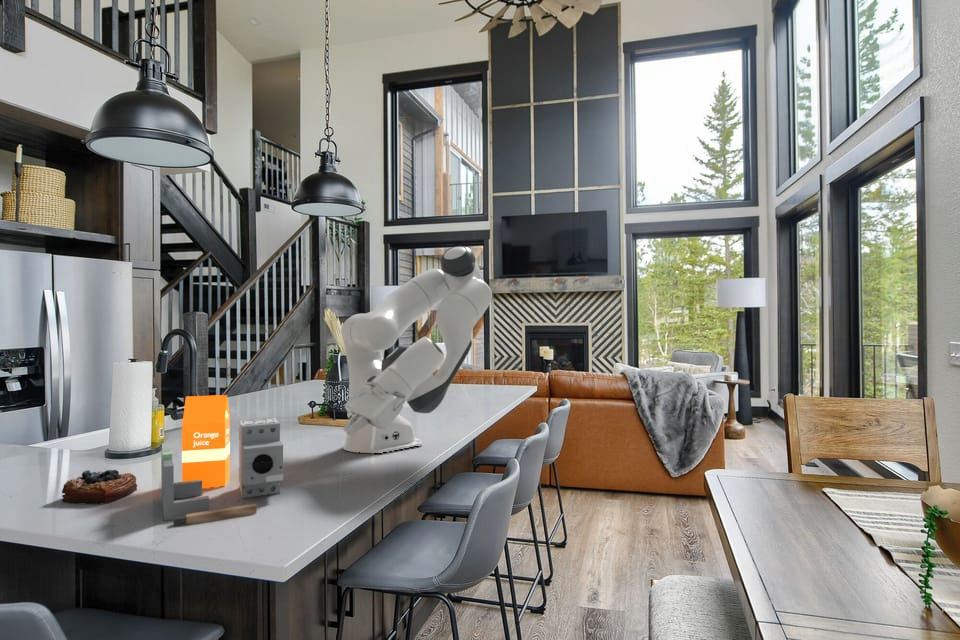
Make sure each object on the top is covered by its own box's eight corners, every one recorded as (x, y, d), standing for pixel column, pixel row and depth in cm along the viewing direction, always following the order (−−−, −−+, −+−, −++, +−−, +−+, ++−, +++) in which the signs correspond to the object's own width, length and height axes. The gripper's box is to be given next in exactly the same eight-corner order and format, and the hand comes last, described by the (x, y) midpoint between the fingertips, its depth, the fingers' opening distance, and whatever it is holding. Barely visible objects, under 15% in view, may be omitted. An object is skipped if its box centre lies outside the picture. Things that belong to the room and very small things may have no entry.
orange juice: (225, 486, 127) (225, 397, 127) (181, 490, 124) (181, 398, 124) (230, 477, 134) (229, 392, 134) (188, 480, 132) (188, 394, 132)
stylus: (255, 511, 111) (255, 503, 111) (256, 514, 110) (256, 505, 109) (173, 524, 104) (173, 516, 104) (173, 527, 102) (173, 518, 102)
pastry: (95, 488, 127) (95, 462, 127) (145, 490, 125) (145, 463, 125) (53, 504, 116) (53, 476, 116) (108, 506, 114) (108, 477, 114)
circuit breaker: (245, 506, 113) (244, 431, 113) (238, 488, 126) (238, 420, 126) (284, 501, 117) (284, 428, 117) (274, 483, 129) (274, 417, 129)
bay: (201, 493, 122) (201, 442, 122) (209, 513, 109) (208, 456, 109) (161, 499, 118) (161, 446, 118) (164, 520, 105) (164, 461, 105)
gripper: (417, 406, 127) (372, 452, 122) (381, 394, 145) (341, 433, 139) (400, 386, 125) (354, 431, 120) (366, 376, 142) (324, 415, 137)
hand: (346, 432), depth 129 cm, fingers closed
